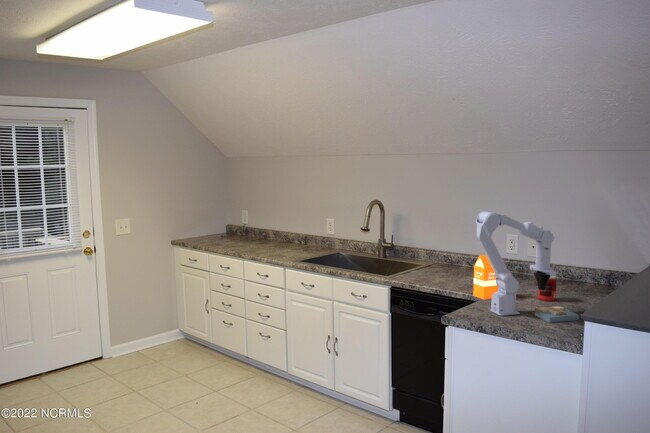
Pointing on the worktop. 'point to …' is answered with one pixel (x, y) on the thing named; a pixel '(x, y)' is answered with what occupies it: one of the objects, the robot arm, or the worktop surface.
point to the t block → (551, 310)
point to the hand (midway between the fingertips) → (541, 289)
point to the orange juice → (484, 279)
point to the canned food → (548, 290)
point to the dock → (552, 318)
